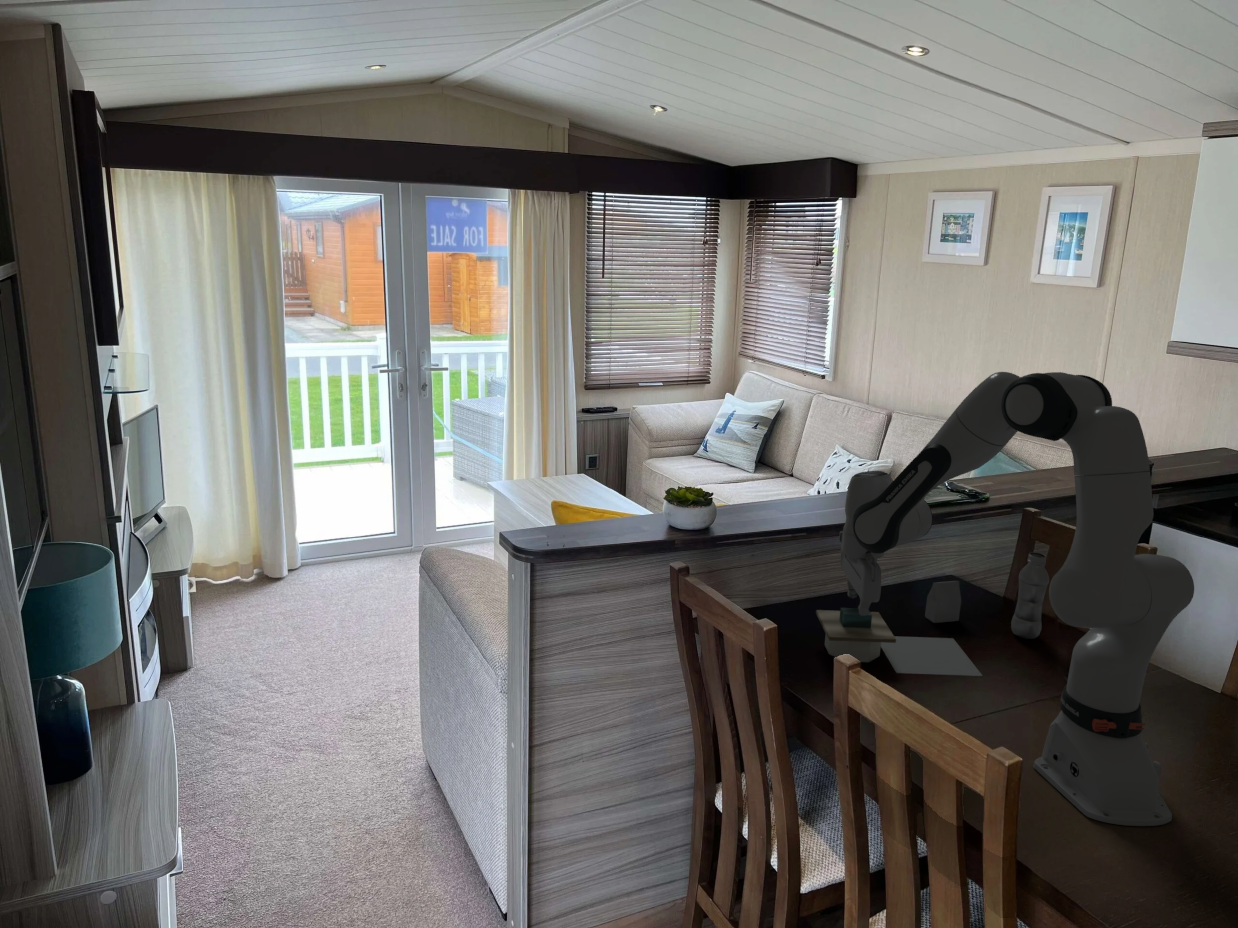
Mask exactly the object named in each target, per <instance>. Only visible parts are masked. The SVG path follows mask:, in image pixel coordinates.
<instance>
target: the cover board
mask: <svg viewBox="0 0 1238 928" xmlns="http://www.w3.org/2000/svg"><path fill="white" fill-rule="evenodd" d="M815 614H816V617H817V618H818V620H819V623H820V625H821V626H822V629H823V631H824V633H825V636H826V635H827V637H828V639H829V640H830V641H857V642H885V643H896V638H895V637H894V636H895V635H894V634H893V632H892V630H891V629H890V627H889V626H888V624H887V623H886V621H885V620H884V619H883V617H882V615H881V614H880V612H879V611H870V608H869V609H868V615H867V616H861V615H860V614H859V612H858V607H840V609H839V610H829V609H827V610H824V609H816V610H815Z"/></svg>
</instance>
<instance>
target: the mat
mask: <svg viewBox="0 0 1238 928" xmlns="http://www.w3.org/2000/svg"><path fill="white" fill-rule="evenodd" d="M894 637H895V638H896V643H885V642H881V648H880V649H882V651H883V653H884V655H885V657H886V658H887V659H888V662H889V663H890V664H891V666H892V668H893V670H894V671H895V673H896V674H908V675H909V674H911V675H912V674H913V675H916V674H917V675H937V676H938V675H940V676H941V675H943V676H965V677H966V676H967V677H968V676H969V677H983V674H982V673H981V672H980V670H979V669H978V668H977V667H976V665H975V664H974V663H973V662H972V660H971V659H970V658H969V657H968V655H967V654H966V653H965V652H964V650H963V649H962V647H961V646H960V645H959V644H958V642H957V641H956V640H955V639H954V638H953V637H950V638H949V637H926V636H924V637H923V636H920V637H919V636H898V635H897V636H895V635H894Z"/></svg>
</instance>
